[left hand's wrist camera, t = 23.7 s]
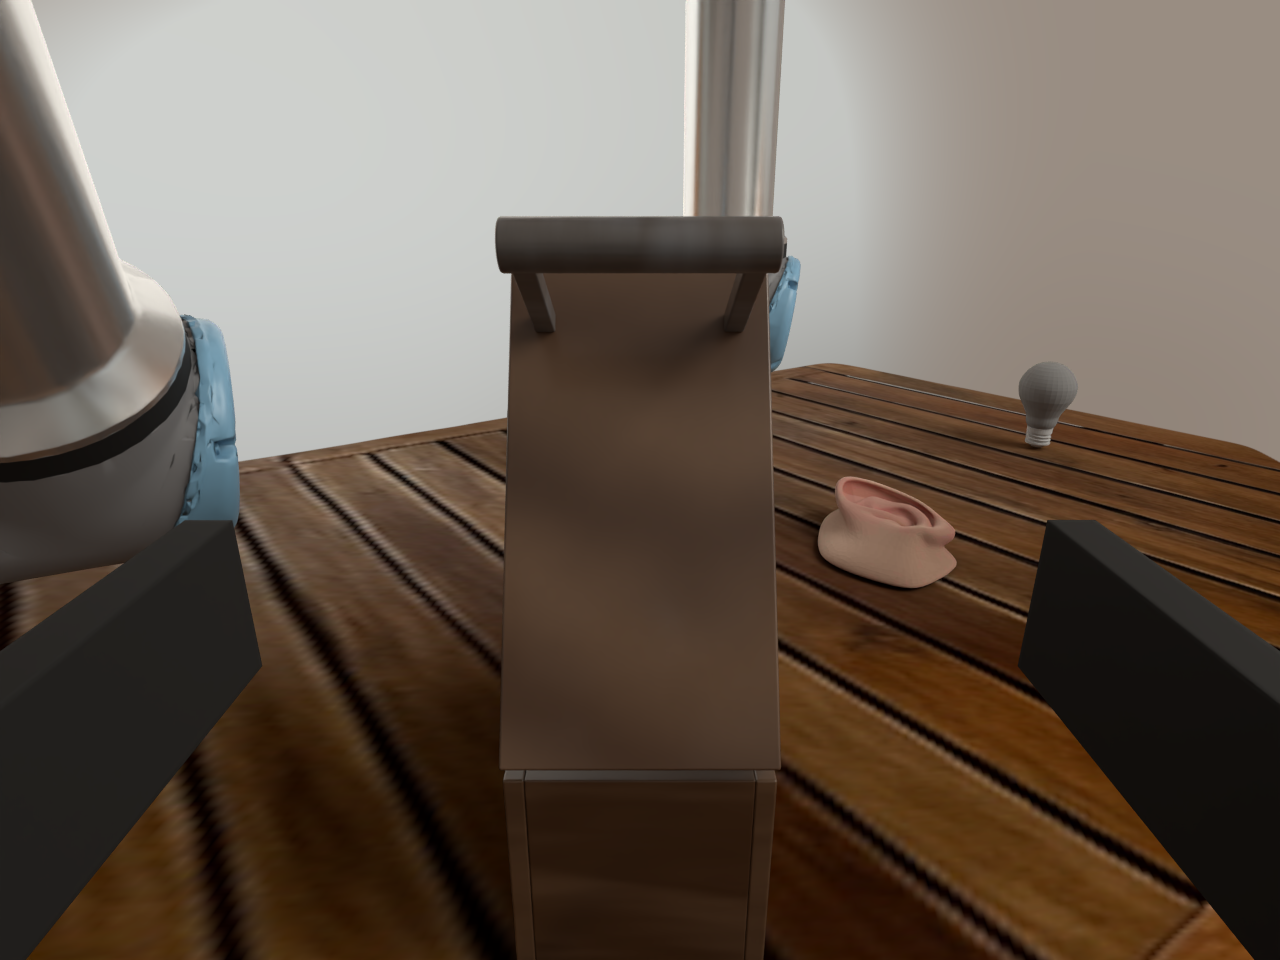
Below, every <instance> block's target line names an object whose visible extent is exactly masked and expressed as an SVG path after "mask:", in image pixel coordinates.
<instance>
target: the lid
mask: <svg viewBox="0 0 1280 960" xmlns="http://www.w3.org/2000/svg"><path fill="white" fill-rule="evenodd" d="M495 249H496V258H497V263H498V267H499V269H500V271H501V272H502V273H511V301H510V341H509V380H508V421H507V461H506V501H505V541H504V581H503V621H502V661H501V701H500V741H499V769H500V770H780V768H781V750H780V711H779V672H778V633H777V594H776V555H775V516H774V477H773V438H772V399H771V360H770V321H769V282H768V273H778V272H779V270H780V268H781V265H782V260H783V253H784V225H783V221H782V218H781V217H779V216H500V217H498V219H497V222H496V227H495Z"/></svg>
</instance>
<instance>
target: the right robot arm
mask: <svg viewBox="0 0 1280 960" xmlns="http://www.w3.org/2000/svg"><path fill="white" fill-rule="evenodd" d="M784 7H785V0H686V36H685V37H686V38H685V120H684V206H683V216H773V199H774V181H775V163H776V146H777V128H778V111H779V94H780V77H781V59H782V42H783V24H784ZM786 249H787V238H786V237H785V236H784V253H783V260H782V265H781V268H780V270H779V272H778V273H768V282H769V321H770V360H771V372H773V371H774V370H775V369H776V368H777V367H778V366H779V365H780V363H781V361H782V358H783V355H784V352H785V348H786V344H787V340H788V336H789V331H790V327H791V322H792V317H793V312H794V306H795V301H796V295H797V293H796V291H797V287H798V281H799V276H800V262H799V260H798V259H796V258H794V257H793V256H788V257H787V258H786ZM507 417H508V410H507Z"/></svg>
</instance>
